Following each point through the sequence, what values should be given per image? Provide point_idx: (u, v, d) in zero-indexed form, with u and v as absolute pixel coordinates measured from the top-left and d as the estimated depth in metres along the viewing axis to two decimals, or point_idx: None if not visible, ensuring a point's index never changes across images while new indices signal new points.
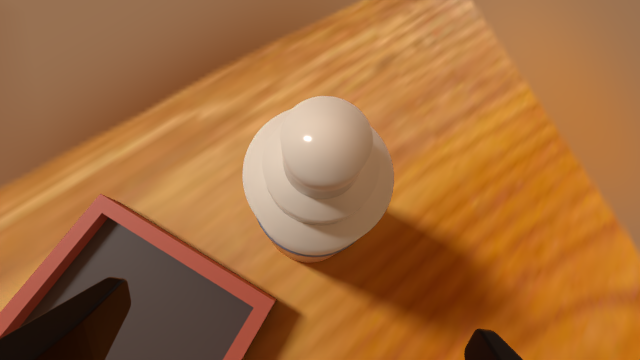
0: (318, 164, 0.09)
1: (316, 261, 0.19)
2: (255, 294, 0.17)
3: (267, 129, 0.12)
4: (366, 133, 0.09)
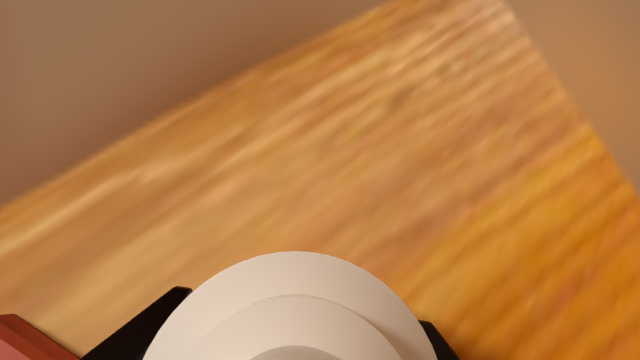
0: None
1: None
2: None
3: (185, 314, 0.06)
4: None
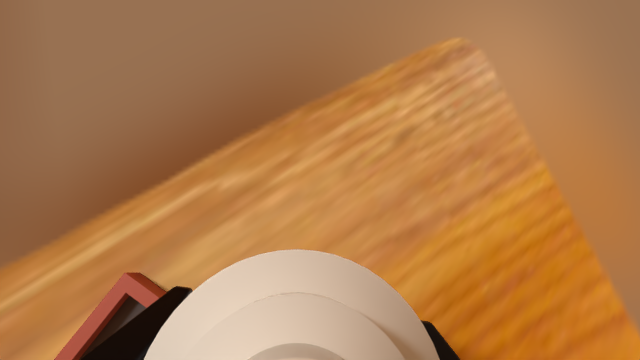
0: None
1: None
2: None
3: (188, 312, 0.06)
4: None
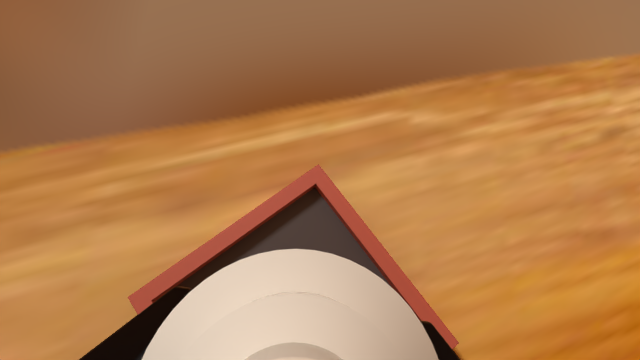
0: None
1: None
2: (441, 326, 0.16)
3: (186, 311, 0.06)
4: None
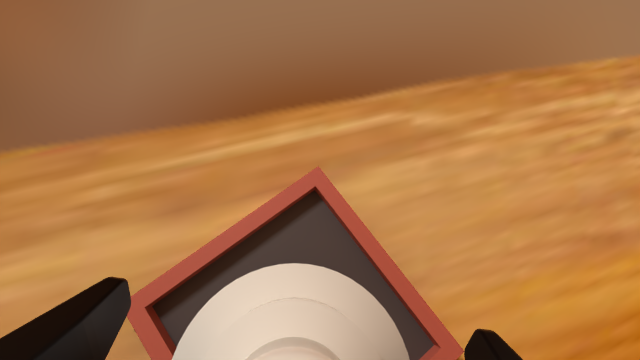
0: None
1: None
2: (446, 334, 0.15)
3: (208, 313, 0.07)
4: None
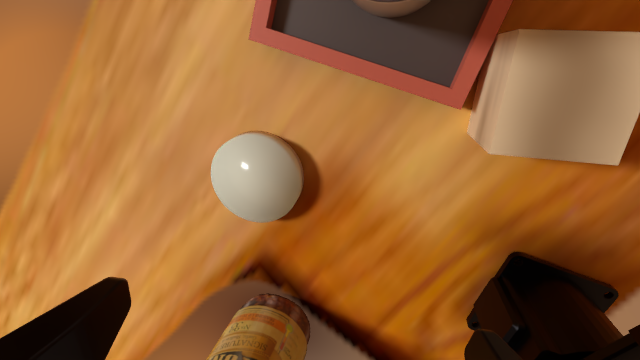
0: None
1: None
2: None
3: None
4: None
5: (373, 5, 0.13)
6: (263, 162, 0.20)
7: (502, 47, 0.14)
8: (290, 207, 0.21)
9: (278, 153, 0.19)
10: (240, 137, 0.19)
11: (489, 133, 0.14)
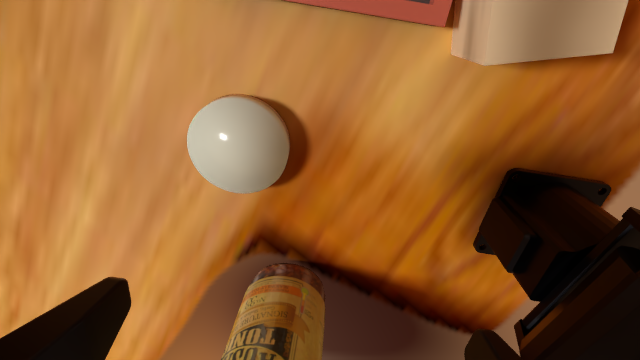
0: None
1: None
2: None
3: None
4: None
5: None
6: (246, 127, 0.18)
7: None
8: (279, 173, 0.20)
9: (262, 117, 0.18)
10: (217, 102, 0.18)
11: (481, 43, 0.13)
